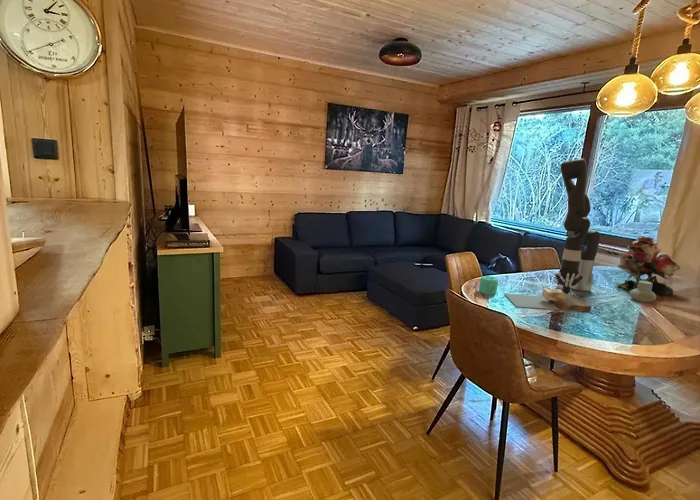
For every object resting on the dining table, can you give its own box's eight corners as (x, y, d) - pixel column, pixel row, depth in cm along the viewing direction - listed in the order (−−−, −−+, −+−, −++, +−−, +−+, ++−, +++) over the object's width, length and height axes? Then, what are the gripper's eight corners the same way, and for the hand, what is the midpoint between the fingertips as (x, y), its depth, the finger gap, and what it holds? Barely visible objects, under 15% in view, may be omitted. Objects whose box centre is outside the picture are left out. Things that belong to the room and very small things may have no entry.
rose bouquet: (680, 294, 218) (693, 241, 211) (642, 297, 209) (654, 241, 203) (635, 280, 242) (645, 232, 235) (599, 283, 233) (608, 233, 227)
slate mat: (543, 297, 201) (543, 296, 201) (559, 310, 183) (560, 309, 183) (504, 294, 203) (504, 293, 202) (516, 307, 184) (516, 306, 184)
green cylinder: (478, 293, 203) (480, 278, 201) (481, 289, 210) (482, 275, 208) (494, 296, 199) (496, 281, 198) (496, 292, 206) (498, 277, 205)
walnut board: (573, 300, 199) (574, 295, 198) (590, 311, 183) (591, 306, 183) (545, 298, 200) (546, 293, 199) (559, 309, 184) (559, 304, 184)
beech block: (559, 297, 194) (560, 289, 193) (564, 301, 188) (565, 293, 187) (542, 295, 195) (543, 288, 194) (546, 299, 189) (547, 292, 188)
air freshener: (631, 301, 201) (635, 282, 199) (627, 296, 208) (630, 278, 206) (657, 304, 197) (661, 285, 195) (651, 300, 205) (655, 281, 203)
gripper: (581, 257, 190) (575, 291, 193) (553, 256, 190) (548, 290, 194) (589, 261, 182) (583, 296, 186) (560, 259, 183) (554, 295, 187)
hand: (565, 293), depth 190 cm, fingers closed
